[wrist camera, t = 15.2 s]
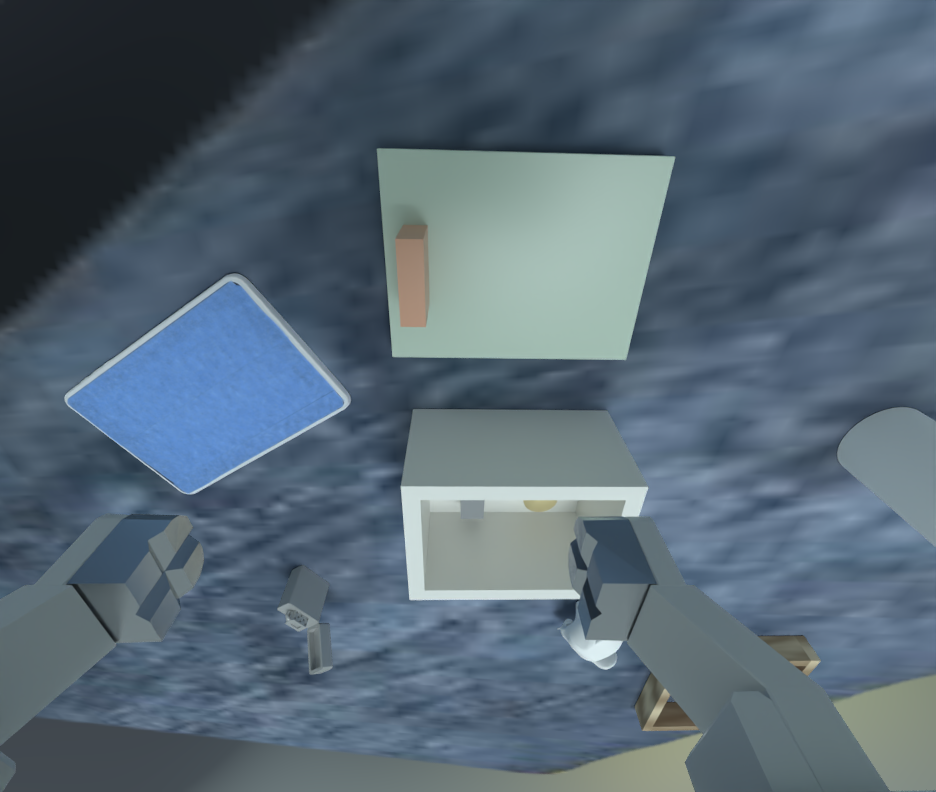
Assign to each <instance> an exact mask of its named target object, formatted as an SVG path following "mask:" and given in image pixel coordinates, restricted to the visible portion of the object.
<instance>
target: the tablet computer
mask: <svg viewBox="0 0 936 792" xmlns="http://www.w3.org/2000/svg"><path fill="white" fill-rule="evenodd" d="M65 402H66V404H67V405H68V406H69V407H70V408H71V409H73V410H74V411H75V412H77V413H78V414H80V415H81V416H82V417H84V418H85V419H86V420H87V421H89V422H90V423H91V424H93V425H94V426H95V427H97V428H98V429H99V430H101V431H102V432H103V433H104V434H106V435H107V436H108V437H110V438H111V439H112V440H114V441H115V442H116V443H118V444H119V445H120V446H121V447H123V448H124V449H126V450H127V451H128V452H129V453H131V454H132V455H133V456H135V457H136V458H137V459H138V460H140V461H141V462H142V463H144V464H145V465H146V466H148V467H149V468H150V469H152V470H153V471H154V472H156V473H157V474H158V475H160V476H161V477H162V478H163V479H165V480H166V481H167V482H169V483H170V484H171V485H173V486H174V487H175V488H177V489H178V490H179V491H181V492H182V493H185V494H195V493H197V492H199V491H200V490H202V489H204V488H206V487H207V486H209V485H211V484H213V483H214V482H216V481H218V480H220V479H222V478H223V477H225V476H227V475H229V474H230V473H232V472H234V471H236V470H237V469H239V468H241V467H243V466H245V465H246V464H248V463H250V462H252V461H254V460H255V459H257V458H259V457H261V456H263V455H264V454H266V453H268V452H270V451H271V450H273V449H275V448H277V447H278V446H280V445H282V444H284V443H286V442H287V441H289V440H291V439H293V438H295V437H296V436H298V435H300V434H302V433H303V432H305V431H307V430H309V429H310V428H312V427H314V426H315V425H317V424H319V423H321V422H323V421H324V420H326V419H328V418H330V417H331V416H333V415H335V414H337V413H339V412H340V411H342V410H344V409H345V408H347V407H348V406H349V404H350V402H351V397H350V394H349V393H348V391H347V390H346V389H345V388H344V387H343V386H342V384H341V383H340V382H339V381H338V380H337V379H336V377H335V376H334V375H333V374H332V373H331V372H330V371H329V370H328V368H327V367H326V366H325V365H324V364H323V363H322V362H321V360H320V359H319V358H318V357H317V356H316V355H315V354H314V352H313V351H312V350H311V349H310V348H309V347H308V345H307V344H306V343H305V342H304V341H303V340H302V339H301V338H300V337H299V335H298V334H297V333H296V332H295V331H294V330H293V329H292V328H291V326H290V325H289V324H288V323H287V322H286V321H285V320H284V319H283V317H282V316H281V315H280V314H279V313H278V312H277V311H276V310H275V308H274V307H273V306H272V305H271V304H270V303H269V302H268V301H267V300H266V298H265V297H264V296H263V295H262V294H261V293H260V292H259V291H258V290H257V289H256V288H255V286H254V285H253V284H252V283H251V282H250V281H249V280H248V279H247V278H245V277H244V276H242V275H240V274H237V273H233V274H229V275H226V276H225V277H223V278H222V279H221V280H219V281H218V282H217V283H215V284H214V285H212V286H211V287H210V288H208V289H207V290H206V291H204V292H203V293H201V294H200V295H199V296H197V297H196V298H195V299H193V300H192V301H191V302H189V303H188V304H186V305H185V306H184V307H182V308H181V309H180V310H178V311H177V312H175V313H174V314H173V315H171V316H170V317H169V318H167V319H166V320H165V321H163V322H162V323H160V324H159V325H158V326H156V327H155V328H154V329H152V330H151V331H150V332H148V333H147V334H145V335H144V336H143V337H141V338H140V339H139V340H137V341H136V342H135V343H133V344H132V345H130V346H129V347H128V348H127V349H125V350H124V351H122V352H121V353H120V354H118V355H117V356H116V357H114V358H113V359H111V360H109V361H108V362H106V363H105V364H104V365H103V366H101V367H100V368H98V369H97V370H95V371H94V372H93V373H92V374H91V375H90V376H88V377H86V378H85V379H84V380H82V381H81V382H80V383H79V384H78V385H76V386H75V387H74V388H72V389H71V390H70V391H68V392H67V393H66V395H65Z"/></svg>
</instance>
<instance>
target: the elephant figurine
mask: <svg viewBox="0 0 936 792" xmlns="http://www.w3.org/2000/svg"><path fill="white" fill-rule="evenodd" d="M578 604H579V601H577V602H576V616H575V620H574V622H573V621H572V620H571V619H566V620H565V621H564V622H563V624H562V627H561V628H558V629H561V634H562V636H563V637H564V638H565V639H566V640H567V641H568V642H569V644H570V646H571V647H572V648H573V649H574V650H575V651H576V652H577V653H578V654H579V656H581V657H582V658H583V659H585V660H587V661H592V662H593V663H594V664H595V665H597V666H598V667H600V668H602V669H609V668H611V667H613V666H614V665H615V663H616V660H617V655H616V653H615V652H616V651H617V650H618V649H619V647H620V646H621V644H622V641H612V640H585V636H584V632H583V628H582V624H581V620H580V617H579V613H578V609H577V607H578Z"/></svg>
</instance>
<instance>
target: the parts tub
mask: <svg viewBox="0 0 936 792" xmlns="http://www.w3.org/2000/svg"><path fill="white" fill-rule="evenodd" d="M647 490H648V485H647V484H646V482H645V480H644V478H643V476H642V474H641V472H640V471H639V469H638V467H637V465H636V463H635V461H634V459H633V458H632V456H631V454H630V452H629V450H628V448H627V446H626V445H625V443H624V441H623V439H622V437H621V435H620V433H619V432H618V430H617V428H616V426H615V424H614V422H613V420H612V419H611V417H610V415H609V413H608V411H607V410H490V409H413V412H412V419H411V425H410V431H409V438H408V444H407V450H406V457H405V463H404V469H403V476H402V482H401V495H402V508H403V521H404V534H405V547H406V559H407V572H408V585H409V598H410V600H497V599H580V595H579V594H578V593H577V592H576V591H575V590H574V589H573V588H572V584H571V580H570V575H569V568H568V553H569V547H570V543H571V542H572V541H573V540H575V539H576V536H575V533H574V525H575V521H576V519H577V518H578V517H599V516H623V517H639V514H640V511H641V508H642V505H643V502H644V499H645V496H646V493H647Z"/></svg>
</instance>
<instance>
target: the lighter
mask: <svg viewBox="0 0 936 792" xmlns="http://www.w3.org/2000/svg"><path fill="white" fill-rule="evenodd" d="M328 588H329V583H328V582H326V581H325V580H324V579H322V578H321V577H319V576H318V575H317V574H315V573H314V572H312V571H311V570H310V569H308V568H307V567H305V566H304V565H301V566H299V567H297V568H295V569H293V570H292V571H291V574H290V577H289V579H288V582H287V585H286V587H285V590H284V593H283V595H282V598H281V601H280V603H279V606H278V610H279V611H280V612H282V613H284V614H285V615H286V623H285V624H287V625H289V626H290V627H292V628H293V629H295V630H297V631H301V630H303V629H305V628H308V630H307V635H308V656H309V673H310V674H318V673H323V672H325V671H327V670H330V669H332V667H333V664H332V650H331V637H330V624H329V623H319V620H320V616H321V612H322V609H323V605H324V602H325V598H326V595H327V591H328Z"/></svg>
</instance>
